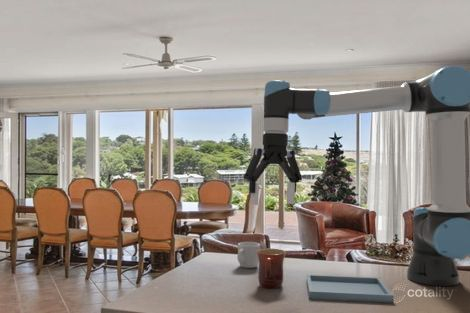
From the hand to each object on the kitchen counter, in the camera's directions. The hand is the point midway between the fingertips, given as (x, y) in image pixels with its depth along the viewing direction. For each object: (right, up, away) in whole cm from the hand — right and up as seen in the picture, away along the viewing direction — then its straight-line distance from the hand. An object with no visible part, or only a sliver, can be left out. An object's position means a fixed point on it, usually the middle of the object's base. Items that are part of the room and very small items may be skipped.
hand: (272, 204), depth 132 cm
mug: (-1, -25, -2) cm, 25 cm away
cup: (-7, -25, +22) cm, 33 cm away
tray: (+21, -25, -5) cm, 33 cm away
